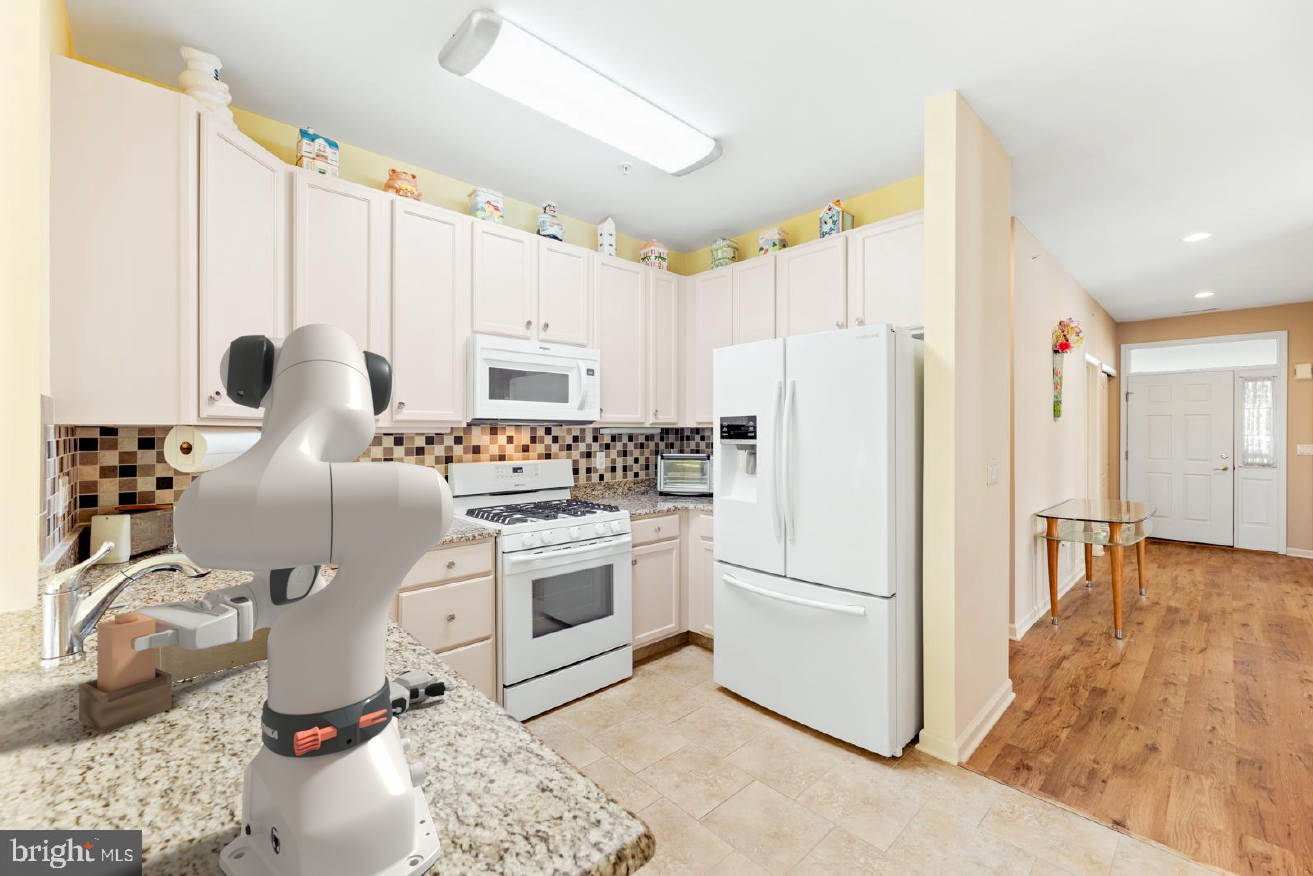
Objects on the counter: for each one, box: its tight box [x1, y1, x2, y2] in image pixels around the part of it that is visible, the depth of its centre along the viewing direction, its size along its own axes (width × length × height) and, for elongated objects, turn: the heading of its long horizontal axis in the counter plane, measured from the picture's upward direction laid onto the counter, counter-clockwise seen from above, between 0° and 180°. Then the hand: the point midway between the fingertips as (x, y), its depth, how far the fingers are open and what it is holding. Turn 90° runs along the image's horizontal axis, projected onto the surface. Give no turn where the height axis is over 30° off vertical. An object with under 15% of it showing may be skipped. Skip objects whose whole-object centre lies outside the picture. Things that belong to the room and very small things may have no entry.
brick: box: [96, 611, 156, 693], centre depth 84 cm, size 5×5×11 cm
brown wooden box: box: [78, 667, 173, 733], centre depth 84 cm, size 8×8×5 cm
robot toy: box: [389, 670, 456, 718], centre depth 86 cm, size 12×4×15 cm
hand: (118, 639), depth 84 cm, fingers open, 8 cm apart
